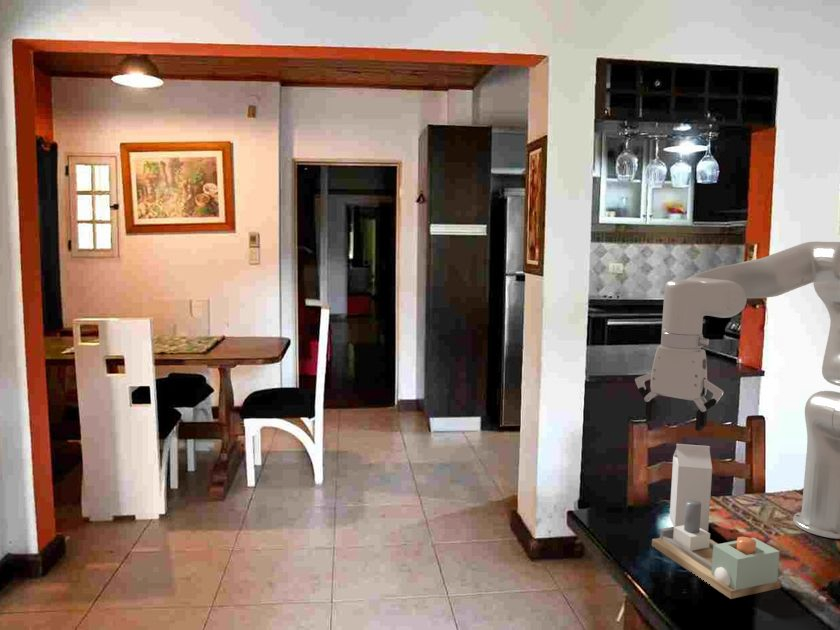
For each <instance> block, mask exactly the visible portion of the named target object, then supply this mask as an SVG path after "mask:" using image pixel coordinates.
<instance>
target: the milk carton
mask: <svg viewBox="0 0 840 630" xmlns="http://www.w3.org/2000/svg"><path fill="white" fill-rule="evenodd" d="M671 469H672V470H671V486H670V487H671V488H670V504H669V505H670V506H669V507H670V508H669V518H670V521H671V523H672V525H673V526H672V527H675V526H681V525H684V524H685V507H686V501H687V500H695V501H698V502H700V503H701V517H700V528H701V529H703V530H705V531H706V532H708V533H709V523H710V521H709V520H710V507H711V496H712V495H711V491H712V478H713V477H712V475H713V464H712V457H711V446H709V445H695V444H686V443H685V444H683V443H676V448H675V450H674V453H673V455H672V468H671Z"/></svg>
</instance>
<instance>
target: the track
mask: <svg viewBox="0 0 840 630" xmlns="http://www.w3.org/2000/svg"><path fill="white" fill-rule="evenodd" d="M681 526H682V525H681ZM675 527H677V526H675ZM673 534H674V526H671V527H670V526H669V527H665V528H660V530H659V537H657V538H652V539H651V546H652V548H654V547H655V548H654V549H656V550H657V551H659V552H660V553H661V554H663V555H664V556H666V557H668V558H669V559H670V560H672V561H673V562H675V563H677V564H678V565H679V566H681V567H682V568H684V569H685V570H687V571H688V572H689V573H691V572H692V573H691V574H693V575H694V574H695V575H694V576H696V577H697V576H698V578H699V579H700V578H701V581H703V580H704V581H703V582H704V583H706V582H707V583H706V584H707V585H709V584H710V585H709V586H711V587H712V588H714V589H715V590H716V591H718V592H719V593H721V594H723V595H724V596H725V597H727V598H729V599H730V600H732V599H736V598H741V597H746V596H751V595H755V594H759V593H758V592H759V591H761V592H760V593H765V592H769V591H773V590H777V589H781V585H782V580H780V579H779V578H778V577H777V582H772V583H774V584H775V583H776V585H777V586H776V585H774V584H773V586H772V584H771V583H770V586H767V585H766V586H765V584H763V585H764V588H763V585H761V586H760V585H758V587H759V586H760V587H762V588H744V589H745V594H744V593H743V592H744V591H743V589H742V592H741V590H734V589H733V588H731V587H730V586H728V587H727V586H726V585H724V584H723V583H721V582H720V581H718V580H717V579H715V577H714V576H713V575H711V571H712V556H713V545H716V544H719V543H718V542H716V541H714V540H713V539H711V538H710V544H709V548H703V549H698V550H692V551H690V550H689V549H687V548H686V547H684V546H682V545H681V544H679V543H678V542H676V541H675V540H673ZM767 584H768V583H767ZM768 585H769V584H768ZM754 587H757V586H754ZM767 587H768V588H767ZM773 587H777V588H773ZM750 589H752V591H751V590H750ZM753 589H754V590H753ZM758 589H759V591H758ZM761 589H765V590H763V591H762V590H761ZM766 589H767V591H766ZM770 589H771V590H770ZM749 590H750V591H749ZM735 591H736V592H735ZM748 591H749V592H748ZM754 591H755V592H756V593H755V592H754ZM757 591H758V592H757ZM750 592H751V593H750ZM752 592H753V594H752ZM735 593H737V594H735ZM739 594H740V595H739ZM743 594H744V595H743ZM747 594H749V595H747ZM735 596H737V597H736V598H735ZM738 596H739V597H738Z"/></svg>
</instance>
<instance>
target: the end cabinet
mask: <svg viewBox="0 0 840 630" xmlns="http://www.w3.org/2000/svg"><path fill="white" fill-rule="evenodd" d="M750 538H751V539H753V540H755V541H756V550H755V554H750V555H745V554H743V553H742V552H740V551H738V550H737V540H732V541H727V542H723V543H718V544H716V545H713V556H712V571H711V575H713V576H714V577H715V579H717V580H718V581H720V582H721V583H723V584H724V585H726V586H727V587H728V586H730V587H731V588H733V589H734V590H741V592H742V589H743V591H744V592H743V593H744V594H745V589H744V588H762V587H760V586H761V585H763V584H765V586H766V585H767V586H770V583H771V584H772V586H773V584H774V583H772V582H777V578H778V574H779V563H780V562H779V560H780V550H778V549H776V548H774V547H772V546H771V545H769V544H766V543H765V542H763V541H762V540H759V539H758V538H756V537H750ZM767 583H768V584H769V585H768V584H767ZM758 585H760V586H759V587H758ZM774 585H776V583H775V584H774ZM754 586H757V587H754ZM776 586H777V585H776ZM763 588H764V585H763ZM767 588H768V587H767ZM773 588H777V587H773ZM750 590H751V591H752V589H750ZM750 590H749V591H750ZM753 590H754V589H753ZM761 590H762V591H763V590H765V589H761ZM749 591H748V592H749ZM758 591H759V589H758ZM758 591H757V592H758ZM769 591H772V590H771V589H770V590H769ZM735 592H736V591H735ZM754 592H755V591H754ZM765 592H768V591H767V589H766V591H765ZM750 593H751V592H750ZM755 593H756V592H755ZM759 593H762V592H761V591H759V592H758V593H756V594H759ZM735 594H737V593H735ZM744 594H743V595H744ZM739 595H740V594H739ZM751 595H754V594H753V592H752V594H751ZM747 596H750V595H749V594H747ZM736 597H737V596H735V598H734V599H736ZM737 598H740V597H739V596H738V597H737Z"/></svg>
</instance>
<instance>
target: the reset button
mask: <svg viewBox="0 0 840 630" xmlns="http://www.w3.org/2000/svg"><path fill="white" fill-rule="evenodd" d="M751 538H752V537H747V536H738V537H737V539H736V541H737V550H738V551H740V552H742V553H743V554H745V555H750V554H755V550H756V541H755V540H753V539H751Z"/></svg>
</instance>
